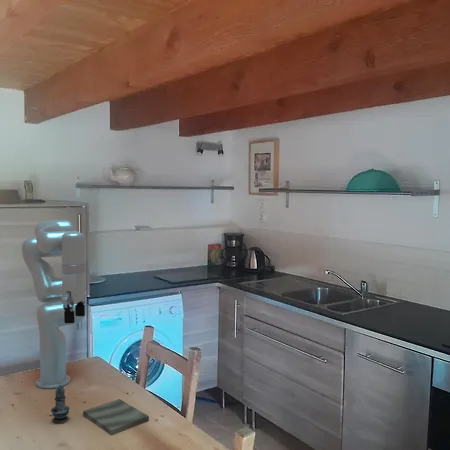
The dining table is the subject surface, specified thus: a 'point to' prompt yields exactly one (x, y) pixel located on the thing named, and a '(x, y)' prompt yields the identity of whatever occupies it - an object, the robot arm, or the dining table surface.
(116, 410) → the serving board
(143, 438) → the dining table surface
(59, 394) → the dark grey chess piece
